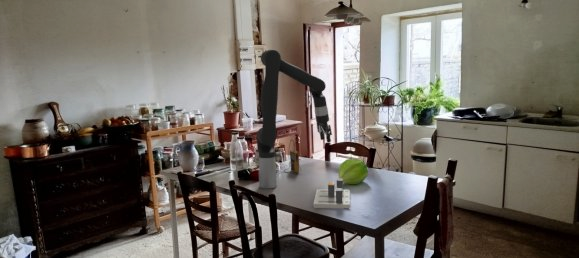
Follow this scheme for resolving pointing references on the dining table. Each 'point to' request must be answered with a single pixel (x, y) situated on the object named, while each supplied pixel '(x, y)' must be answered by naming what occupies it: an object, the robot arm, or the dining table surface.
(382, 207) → the dining table surface
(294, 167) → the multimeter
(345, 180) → the lettuce
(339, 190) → the block
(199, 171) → the dining table surface
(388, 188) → the dining table surface
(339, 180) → the block
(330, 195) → the block
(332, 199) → the breaker panel
